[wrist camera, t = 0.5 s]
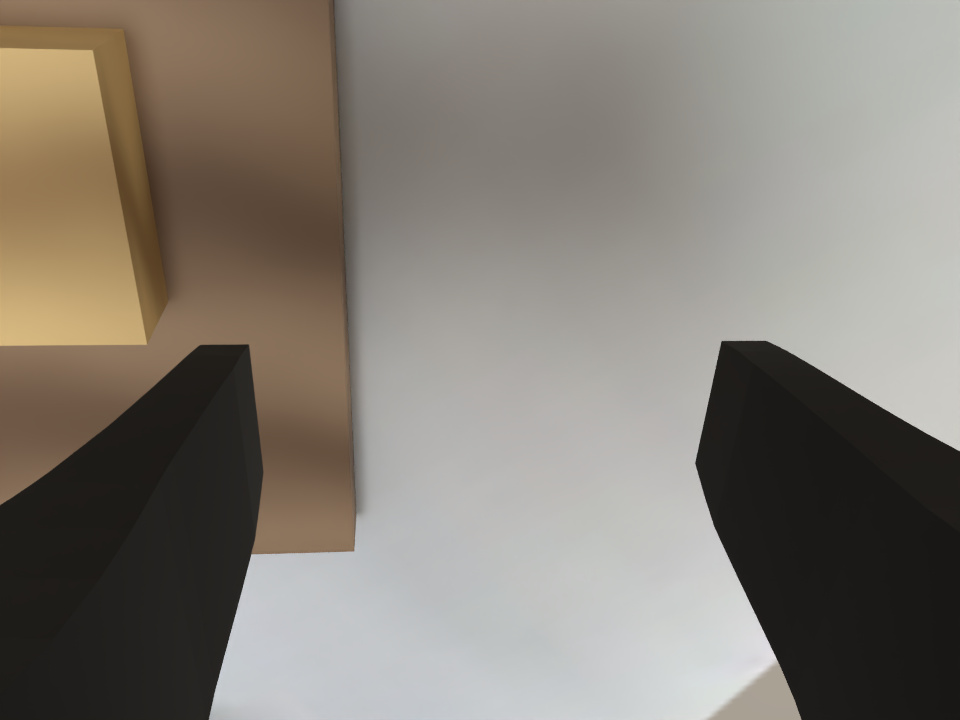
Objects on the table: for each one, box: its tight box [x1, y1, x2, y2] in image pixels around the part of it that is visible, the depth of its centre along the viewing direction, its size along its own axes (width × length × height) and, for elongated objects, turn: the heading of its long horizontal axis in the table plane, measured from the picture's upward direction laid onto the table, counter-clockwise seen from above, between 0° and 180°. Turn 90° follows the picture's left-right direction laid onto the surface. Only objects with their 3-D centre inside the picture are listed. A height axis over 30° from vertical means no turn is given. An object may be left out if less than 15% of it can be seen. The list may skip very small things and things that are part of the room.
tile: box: [0, 26, 168, 346], centre depth 17 cm, size 6×5×2 cm
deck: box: [0, 0, 356, 554], centre depth 19 cm, size 20×10×2 cm, turn 178°
